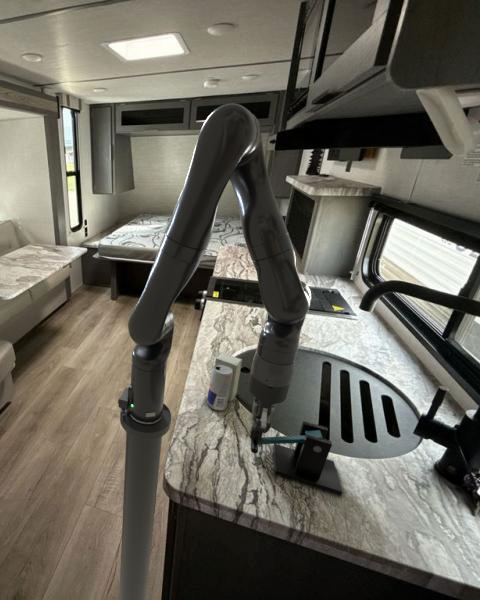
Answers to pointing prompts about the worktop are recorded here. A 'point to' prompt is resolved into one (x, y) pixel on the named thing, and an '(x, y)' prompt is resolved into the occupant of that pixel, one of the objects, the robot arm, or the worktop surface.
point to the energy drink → (219, 386)
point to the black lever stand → (308, 461)
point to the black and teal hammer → (283, 440)
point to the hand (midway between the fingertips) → (255, 438)
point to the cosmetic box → (236, 367)
